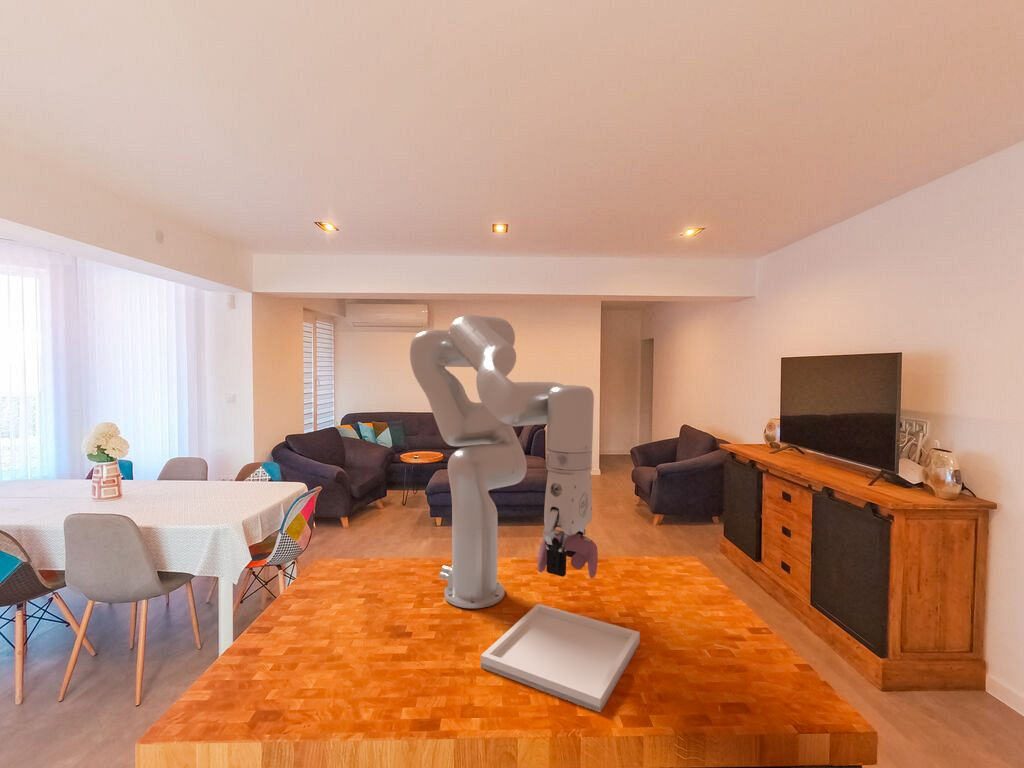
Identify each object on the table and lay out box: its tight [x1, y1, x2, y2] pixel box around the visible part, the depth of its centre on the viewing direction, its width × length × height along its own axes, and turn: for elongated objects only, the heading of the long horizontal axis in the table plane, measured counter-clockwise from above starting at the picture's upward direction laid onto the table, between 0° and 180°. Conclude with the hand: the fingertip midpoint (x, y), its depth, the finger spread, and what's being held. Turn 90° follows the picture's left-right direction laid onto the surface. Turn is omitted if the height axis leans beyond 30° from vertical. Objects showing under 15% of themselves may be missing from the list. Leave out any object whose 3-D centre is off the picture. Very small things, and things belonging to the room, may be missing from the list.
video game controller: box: [537, 534, 599, 579], centre depth 81 cm, size 10×5×7 cm, turn 77°
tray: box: [480, 603, 641, 713], centre depth 81 cm, size 20×20×2 cm
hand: (565, 564), depth 81 cm, fingers closed on video game controller, 7 cm apart
